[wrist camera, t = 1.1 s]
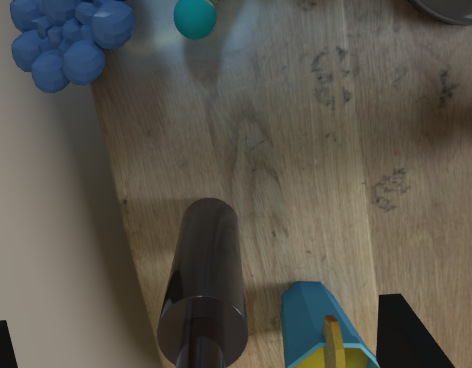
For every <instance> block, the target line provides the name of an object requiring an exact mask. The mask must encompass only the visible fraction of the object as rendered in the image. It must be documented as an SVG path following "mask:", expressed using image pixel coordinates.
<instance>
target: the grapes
mask: <svg viewBox="0 0 472 368" xmlns="http://www.w3.org/2000/svg"><path fill="white" fill-rule="evenodd" d="M124 1H127V0H13V1H12V3H10V12H11V18H12V20H13V22H14V25H15V27H16V28H17V29H19V30H20V31H21V32H22V33H23V34H21V35H20V36H19V37H18V38H16V39H15V41H14V42H13V43H12V54H13V58H14V60H15V62H16V65H17V66H18V67H19V68H21V69H22V70H23V71H24V72H32V78H33V80H34V82H35V84H36V86H37V87H38V88H39V89H41V90H42V91H43V92H48V93H54V92H57V91H60V90H62V89H63V88H64V87H65V86H67V85H68V84H69V82H70V81H71V82H72V83H74V84H76V85H86V84H89V83H91V82H94V81H95V80H96V79H97V78H98V77H99V76H100V75H101V73H102V71H103V69H104V67H105V55H104V52H103V49H102V48H105V49H112V50H113V49H115V48H118V47H120V46H123V45H124V44H125V43H126V42H127V41H128V40H129V39H130V37H131V34H132V32H133V30H134V24H135V18H134V15H133V12H132V9H131V8H130V7H129V6H128V5H127V4H126V3H125V2H124Z"/></svg>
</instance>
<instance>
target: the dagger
mask: <svg viewBox="0 0 472 368" xmlns="http://www.w3.org/2000/svg"><path fill="white" fill-rule="evenodd" d="M218 2H219V0H179V1H178V3H177V4H176V7H175V9H174V22H175V25H176V27H177V29H178V31H179V32H180V33H181V34H182V35H184V36H185V37H187V38H190V39H202V38H204V37H206V36H207V35H209V34H210V33H211V32H212V30H213V29H214V26H215V24H216V11H215V5H216V4H217V3H218Z"/></svg>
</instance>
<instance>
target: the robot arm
mask: <svg viewBox="0 0 472 368" xmlns="http://www.w3.org/2000/svg"><path fill="white" fill-rule="evenodd" d="M408 1H409V2H410V3H411V4H412V5H413V6H414V7H415V8H417V9H418V10H419V11H421V12H422V13H424V14H426V15H427V16H429V17H431V18H433V19H436V20H438V21H441V22H445V23H449V24H455V25H472V0H408ZM376 361H377V363H378V365H379V367H380V368H455V367H454V366H453V364H452V363H451V362H450V360H449V359H448V358H447V356H446V355H445V353H444V352H443V351H442V349H441V348H440V347H439V345H438V344H437V343H436V341H435V340H434V338H433V337H432V336H431V334H430V333H429V332H428V330H427V329H426V328H425V326H424V325H423V323H422V322H421V321H420V319H419V318H418V317H417V315H416V314H415V313H414V311H413V310H412V308H411V307H410V306H409V304H408V303H407V302H406V300H405V299H404V298H403V296H402V295H401V294H386V295H379V307H378V328H377V350H376ZM0 368H18V366H17V362H16V358H15V354H14V350H13V346H12V342H11V338H10V334H9V330H8V326H7V322H6V320H1V321H0Z"/></svg>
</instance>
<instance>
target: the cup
mask: <svg viewBox="0 0 472 368" xmlns="http://www.w3.org/2000/svg"><path fill="white" fill-rule="evenodd" d="M281 322H282V334H283V346H284V358H285V368H380V367H379V365H378V363H377V361H376V356H375V355H374V354H373V353H372V352H371V351H370V350H369V349H368V348H367V347H366V345H365V344H364V342H363V340H362V339H361V337H360V336H359V334H358V333H357V331H356V330H355V328H354V327H353V325H352V324H351V322H350V320H349V319H348V317H347V316H346V314H345V313H344V311H343V310H342V308H341V307H340V305H339V304H338V302H337V300H336V299H335V297H334V296H333V295H332V294H331V293H330V292H329V291H328V290H327V289H326V288H325V286H324V285H323V284H322V283H321V282H302V281H299V282H297V283H296V284H295V285H294V286H292V287H291V288H290V289H289V290H287V291H286V292H285V293H284V294H282V305H281Z"/></svg>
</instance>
